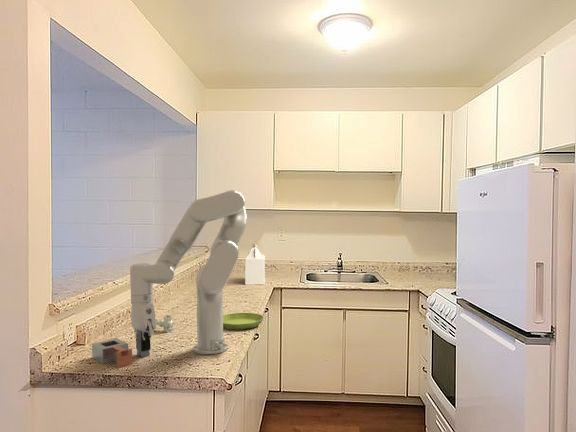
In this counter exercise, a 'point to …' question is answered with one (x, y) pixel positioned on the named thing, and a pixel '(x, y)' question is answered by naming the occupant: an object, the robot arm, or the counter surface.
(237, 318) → the saucer
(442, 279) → the counter surface
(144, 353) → the square peg
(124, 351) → the square sleeve with handle
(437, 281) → the counter surface
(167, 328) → the valve
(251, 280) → the gable box
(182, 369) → the counter surface
